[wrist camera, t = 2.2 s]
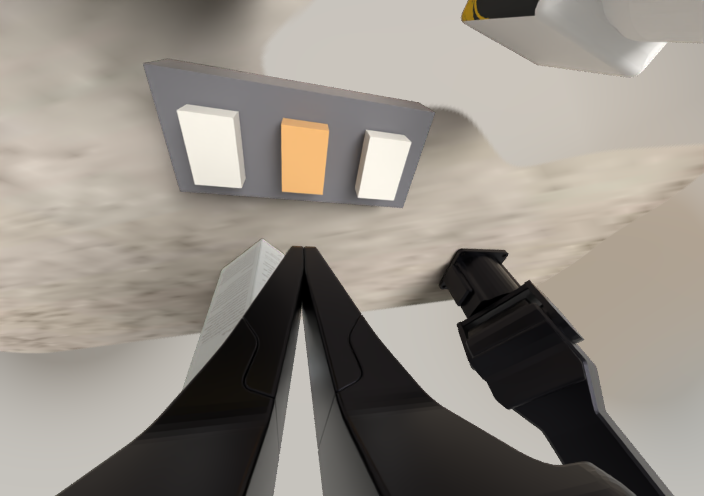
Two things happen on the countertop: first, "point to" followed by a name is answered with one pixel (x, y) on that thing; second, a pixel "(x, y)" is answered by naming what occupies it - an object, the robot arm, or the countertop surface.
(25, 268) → the countertop surface
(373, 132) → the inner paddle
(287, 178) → the middle paddle
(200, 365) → the skincare box
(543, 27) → the medicine bottle
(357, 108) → the block
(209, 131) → the block
